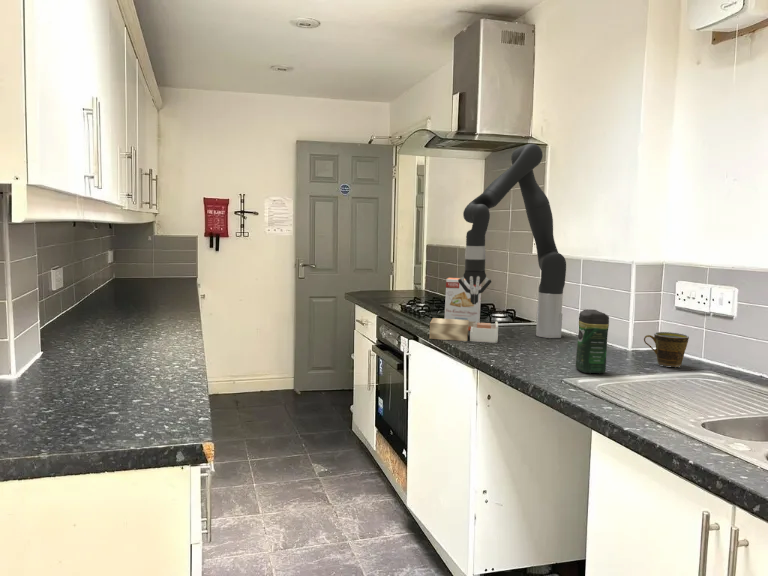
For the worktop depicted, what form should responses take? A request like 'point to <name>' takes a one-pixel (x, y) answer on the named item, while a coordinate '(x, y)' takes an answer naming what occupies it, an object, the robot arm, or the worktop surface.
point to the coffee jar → (592, 341)
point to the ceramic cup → (669, 348)
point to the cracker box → (461, 302)
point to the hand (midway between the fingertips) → (474, 304)
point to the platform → (449, 329)
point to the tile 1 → (484, 325)
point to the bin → (484, 333)
